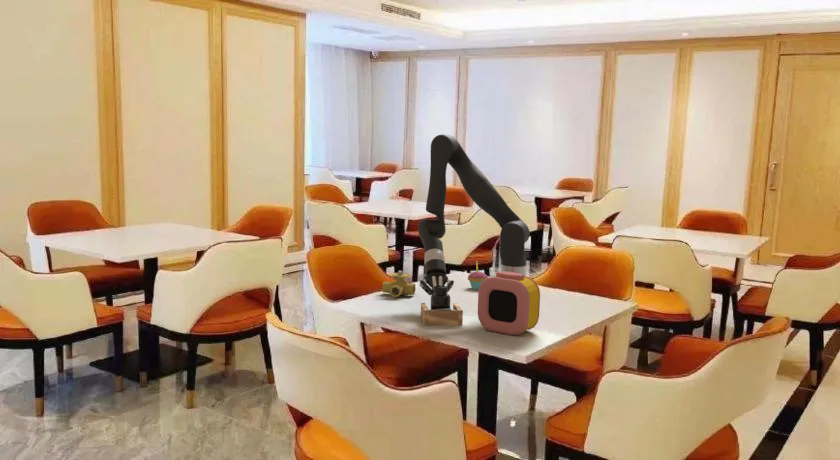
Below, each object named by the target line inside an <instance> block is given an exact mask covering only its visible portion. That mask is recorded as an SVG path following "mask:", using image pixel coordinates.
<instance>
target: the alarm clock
mask: <svg viewBox="0 0 840 460" xmlns="http://www.w3.org/2000/svg"><path fill="white" fill-rule="evenodd" d="M540 291H541V290H540V287H539V286H538V284H537V282H536V281H535V280H533V279H532V278H531V277H527V275H526V276H524V274H520V273H514V272H505V271H501V270H500V271H497V272H496V273H495V276H490V277H489V276H488V278H487V279H485V280H483V282H482V283H481V285H480V287H479V289H478V293H477V294H478V295H477V319H478V321H479V323H480V325H481V326H482V327H483V328H484V329H486V330H488V331H490V332H492V333H494V332H495V333H498V334H499V333H500V334H506V335H510V336H520V335H521V334H523V333H524V332H526V331H529V330H531V329H534V328H535V327H536V325H537V324H538V322H539V319H540V307H541V306H540V305H541V292H540Z"/></svg>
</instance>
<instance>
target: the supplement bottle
mask: <svg viewBox="0 0 840 460" xmlns="http://www.w3.org/2000/svg"><path fill="white" fill-rule="evenodd" d="M447 292H448V293H447ZM436 309H451V295H450V294H449V291H448V287H447V285H444V286H442V285H438V286H434V294H432V295H430V310H436Z"/></svg>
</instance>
